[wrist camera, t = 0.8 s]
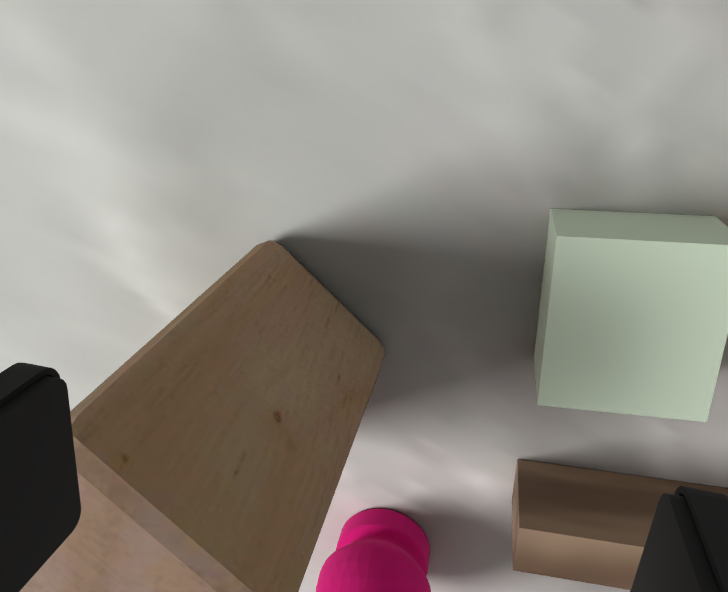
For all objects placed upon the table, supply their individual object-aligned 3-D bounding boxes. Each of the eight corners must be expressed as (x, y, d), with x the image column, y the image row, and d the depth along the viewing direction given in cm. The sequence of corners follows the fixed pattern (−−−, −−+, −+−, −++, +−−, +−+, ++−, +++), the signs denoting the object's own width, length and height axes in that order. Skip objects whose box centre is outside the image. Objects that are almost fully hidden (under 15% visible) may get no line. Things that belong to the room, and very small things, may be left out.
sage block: (550, 207, 34) (556, 235, 29) (714, 215, 32) (748, 246, 28) (533, 358, 37) (537, 405, 33) (681, 371, 36) (706, 422, 31)
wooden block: (395, 347, 39) (296, 631, 21) (289, 434, 43) (130, 735, 25) (273, 228, 37) (54, 422, 19) (176, 330, 41) (-80, 568, 23)
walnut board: (517, 459, 40) (519, 527, 35) (920, 515, 36) (993, 602, 31) (512, 498, 41) (512, 570, 36) (901, 556, 37) (968, 646, 32)
